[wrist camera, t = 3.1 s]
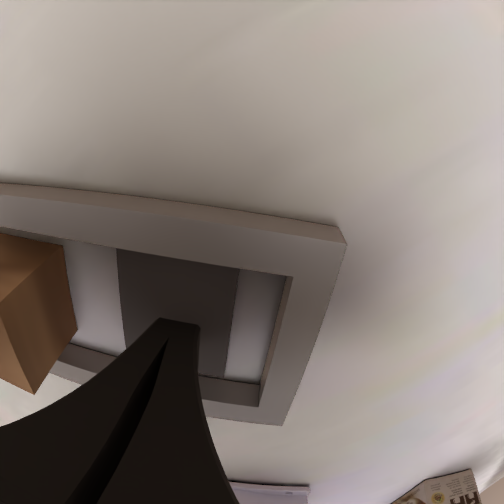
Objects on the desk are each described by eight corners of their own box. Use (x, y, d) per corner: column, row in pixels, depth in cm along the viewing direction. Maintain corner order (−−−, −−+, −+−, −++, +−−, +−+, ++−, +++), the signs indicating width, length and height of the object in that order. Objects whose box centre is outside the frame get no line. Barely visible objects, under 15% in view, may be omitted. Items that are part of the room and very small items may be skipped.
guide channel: (338, 227, 9) (347, 243, 8) (281, 404, 13) (282, 425, 12) (-36, 180, 9) (-55, 189, 8) (0, 332, 13) (-12, 345, 12)
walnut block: (63, 244, 10) (-4, 305, 6) (78, 328, 12) (34, 394, 8) (-4, 231, 10) (-67, 276, 6) (14, 307, 12) (-32, 359, 8)
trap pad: (240, 263, 10) (239, 268, 10) (224, 371, 12) (223, 377, 12) (120, 244, 10) (116, 247, 10) (129, 352, 12) (127, 357, 12)
